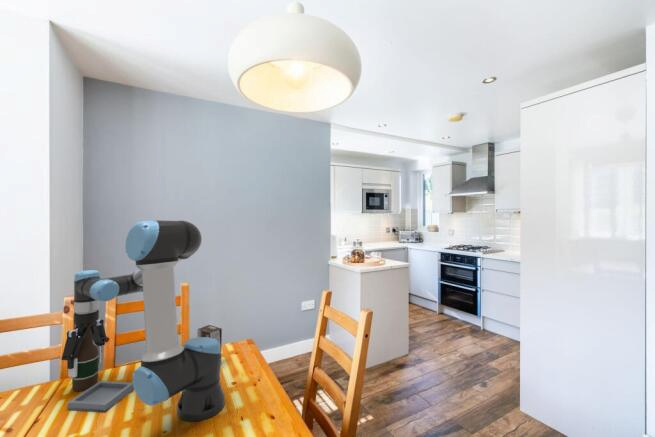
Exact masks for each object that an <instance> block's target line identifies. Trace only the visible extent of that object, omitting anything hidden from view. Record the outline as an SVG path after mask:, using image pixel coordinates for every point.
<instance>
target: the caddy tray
mask: <svg viewBox="0 0 655 437" xmlns="http://www.w3.org/2000/svg"><path fill="white" fill-rule="evenodd" d="M132 391H135V390H134V387H133V382H125V381H124V382H123V381H109V380H106V381H105V380H99V381H98V383H96V384H95V385H93V386H92V387H90V388H89V389H87V390H85V391H82V392H81V393H79V394H78V395H77V396H75V397H74V398H72V399H71V400H69V401H67V407H66V408H67V411H77V412H78V411H79V412H91V413H92V412H93V413H107V412H108V411H109V410H110V409H112V407H115V405H116V404H118V403H119V402H120V401H121V400H123V399H124V398H125V397H127V395H129V394H130V393H131V392H132Z"/></svg>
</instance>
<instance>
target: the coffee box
mask: <svg viewBox="0 0 655 437" xmlns="http://www.w3.org/2000/svg"><path fill="white" fill-rule="evenodd" d="M222 330H223V329H222V328H221V327H217V326H215V325H210V324H208V325H205V326H203V327H200V328H197V337H196V338H198V337H208V338H214V339H216V340H218V341H219V343H220V351H221V353H220V366H221V365H222V342H223V341H222V340H223V339H222V338H223V337H222V334H223V333H222V332H223V331H222Z"/></svg>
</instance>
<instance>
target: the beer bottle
mask: <svg viewBox="0 0 655 437" xmlns="http://www.w3.org/2000/svg"><path fill="white" fill-rule="evenodd" d="M91 326H93V325H92V323H90V324H88V325H86V328H90V329H89V332H88V333H87V335H86V337H85V339H84V340H83V341H82V344H81V346H80V348H79V351H78V353H77V355H76V358H77V377H71V386H72V387H71V388H72V389H73V390H74V391H75V392H84V391H86V390H87V389H89V388H90V387H92V386H93V385H95V384H96V383H98V382H99V363H98V356H99V355H98V349H97V347H96V346H97V345H96V344H95V343H94V341H93V340H92V329H91Z"/></svg>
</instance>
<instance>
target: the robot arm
mask: <svg viewBox="0 0 655 437" xmlns="http://www.w3.org/2000/svg"><path fill="white" fill-rule="evenodd" d="M201 245H202V233H201V231H200V230H199V228H198V227H197V226H196V225H195V224H193V223H192V222H189V221H187V220H159V219H158V220H154V219H153V220H152V219H151V220H144V221H141V220H140V221H138V222H136V223H134V225H132V226H131V227H130V229H129V231H128V232H127V235H126V238H125V245H124V246H125V253H126V255H127V257H128V258H129V259H130V260H132V261H134V262H135V268H138V269H136V270H135V271H134V272H133V273H131V274H125V275H120V276H119V275H118V276H112V277H106V278H101V275H100V271H99V270H95V269H89V270H87V269H86V270H80V271H77V272H76V273H75V274H74V280H73V284H74V286H73V290H74V291H73V312H74V314H73V323H74V324H75V328H74V329H72V330H68V331H67V332H66V341H65V343H64V344H65V345H64V348H63V351H62V356H61V360H62V361H66V363H67V364H66V365H67V367H66V368H67V370H68V372H67V374H68V375H67V376H68V378H72V377H77V358H76V355H77V353H78V351H79V348H80V346H81V344H82V341H83V340H84V339H85V337H86V335H87V333H88V332H89V329H90V328H86V325H88V324H90V323H92V325H93V326H91V329H92V340H93V344H94V345H95V346H96V347H97V349H98V355H99V356H98V364H100V363H102V352H103V346H105V345H106V342H107V341H108V338H107V335H106V331H105V330H106V329H105V326H104V323H105V320H104V319H100V318H99V317H100V315H99V314H100V311H99V309H100V302H109V301H112V300H113V299H115V298H116V297H121V296H126V295H130V294H136V293H141V292H142V293H143V313H144V314H143V315H144V317H143V318H144V332H145V333H144V334H145V349H146V350H145V352H144V353H143V354H142V355H141V357H140V366H139V367H137V368H136V369H135V370H134V371H133V374H132V380H131V383H133V387H134V390H133V391H134V392H135V393H136V394H135V395H136V396H137V398H138V399H139V400H140V401H141V403H143V404H145V405H146V406H150V407H153V406H154V407H155V406H157V405H158V404H160V403H163V402H166V401H168V400H169V399H170V398H172V397H174V396H176V395H177V394H179V393H181V394H180V396H179V400H178V402H177V405H176V413H177V417H178V418H179V419H181V420H183V421H186V422H201V421H204V420H207V419H211V418H212V417H214V416H216V415H217V414H219V412H221V411H222V409H224V407H225V400H226V398H225V397H226V396H225V393H224V389H223V387H222V384H221V381H220V379H221V365H220V353H221V354H222V350H221V351H220V343H219V341H218V340H216V339H214V338H208V337H198V338H197V337H192V338H189V339H187V340H185V342H184V343H183V345H181V344H180V343H179V337H178V336H179V335H178V318H177V304H176V288H175V270H174V268H175V266H176V265H177V264H178V263H180V261H182V260H187V259H190V257H192V256H193V255H194V254H195V253H196V252H197V251H198V250H199V249H200V247H201Z"/></svg>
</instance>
